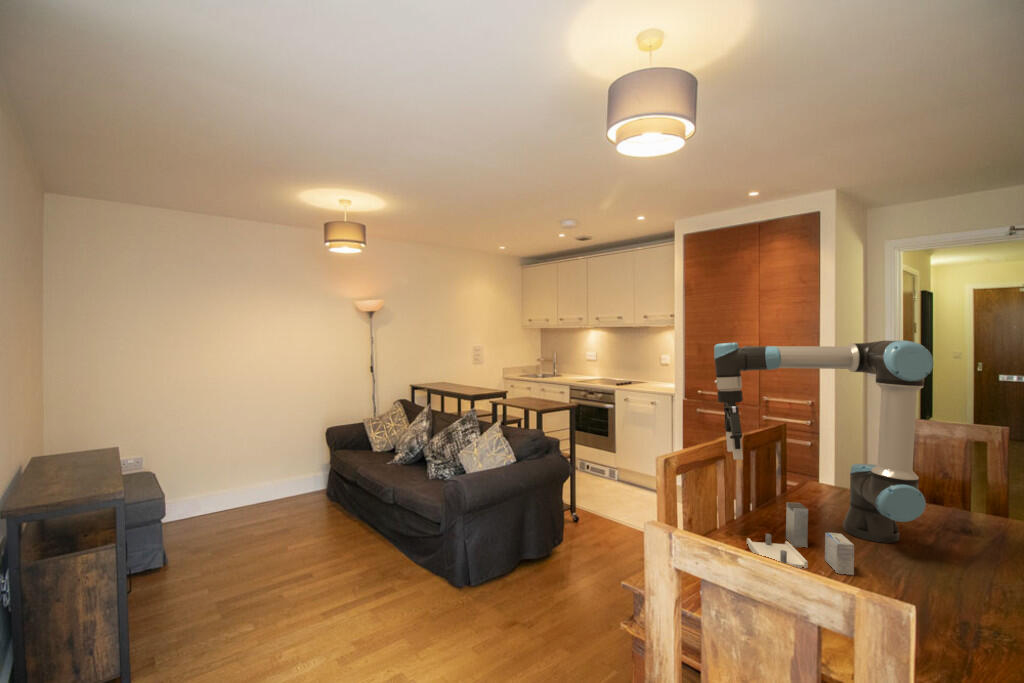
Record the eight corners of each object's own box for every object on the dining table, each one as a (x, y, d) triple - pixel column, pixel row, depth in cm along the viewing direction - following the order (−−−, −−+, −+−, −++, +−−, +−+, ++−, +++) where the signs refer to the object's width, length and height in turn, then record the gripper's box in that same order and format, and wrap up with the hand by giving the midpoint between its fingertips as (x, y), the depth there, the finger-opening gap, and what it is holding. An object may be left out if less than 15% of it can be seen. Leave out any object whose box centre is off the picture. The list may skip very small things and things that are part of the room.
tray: (787, 547, 152) (788, 534, 152) (807, 568, 139) (807, 554, 139) (746, 544, 154) (746, 531, 154) (762, 565, 140) (762, 551, 140)
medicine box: (854, 576, 135) (855, 544, 135) (836, 574, 136) (836, 543, 136) (841, 563, 143) (841, 533, 142) (824, 561, 143) (824, 531, 143)
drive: (799, 540, 158) (800, 502, 158) (807, 548, 152) (808, 509, 152) (785, 539, 159) (786, 501, 159) (793, 546, 153) (794, 508, 153)
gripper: (713, 388, 174) (718, 448, 173) (721, 393, 150) (727, 463, 149) (736, 387, 172) (741, 448, 171) (748, 391, 148) (754, 462, 147)
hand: (734, 455), depth 160 cm, fingers open, 13 cm apart
